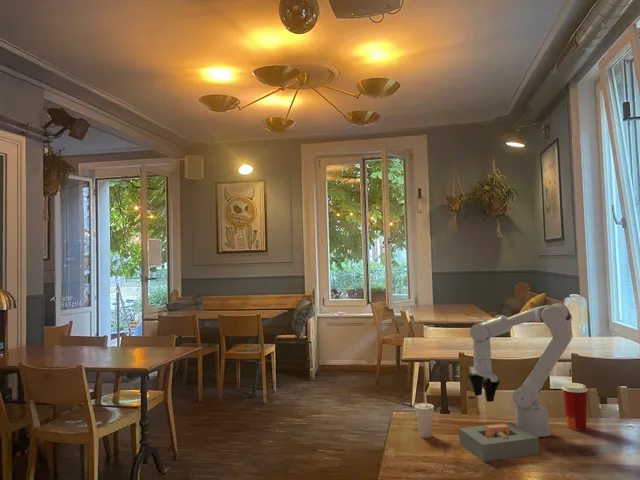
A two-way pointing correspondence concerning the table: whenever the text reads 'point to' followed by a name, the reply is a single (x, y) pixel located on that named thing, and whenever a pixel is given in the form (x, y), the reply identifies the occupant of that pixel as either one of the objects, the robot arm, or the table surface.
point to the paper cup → (575, 405)
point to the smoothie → (424, 418)
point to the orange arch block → (494, 428)
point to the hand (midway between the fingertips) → (484, 398)
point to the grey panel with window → (498, 442)
